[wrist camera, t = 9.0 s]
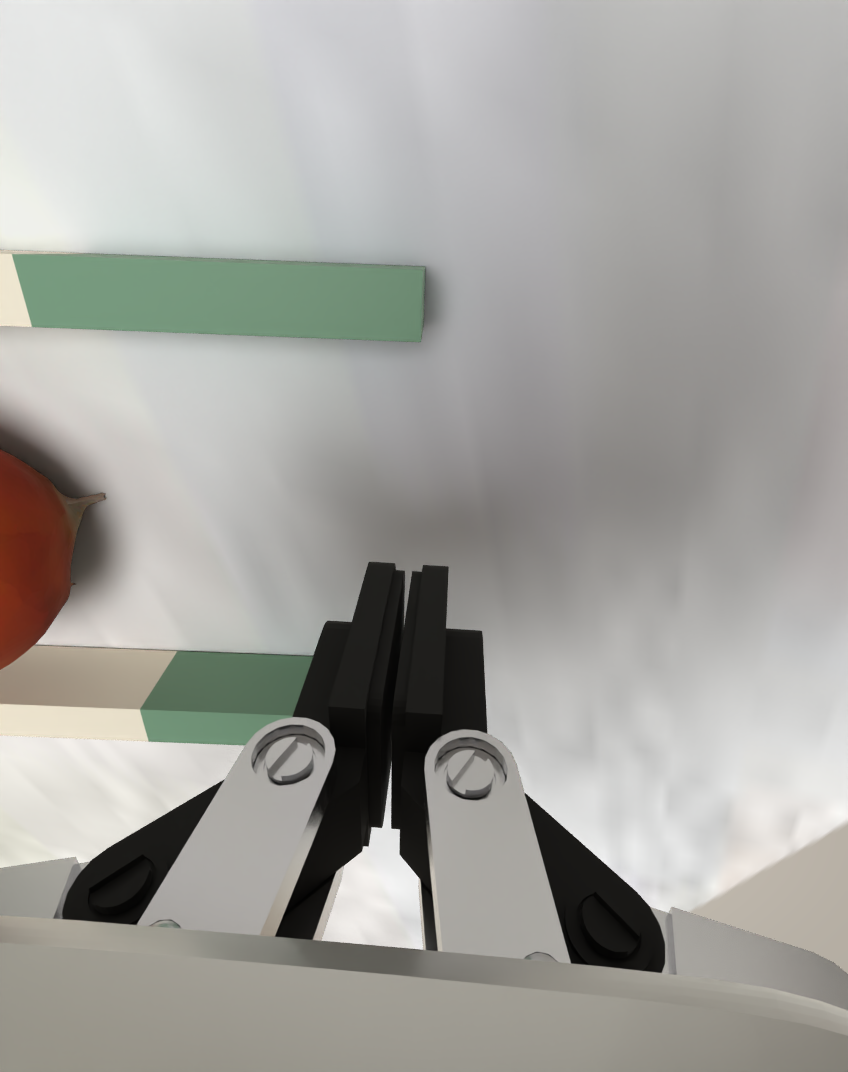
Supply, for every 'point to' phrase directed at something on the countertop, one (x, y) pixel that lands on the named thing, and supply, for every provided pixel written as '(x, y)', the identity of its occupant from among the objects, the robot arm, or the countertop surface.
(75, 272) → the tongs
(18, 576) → the fruit
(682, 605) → the countertop surface
